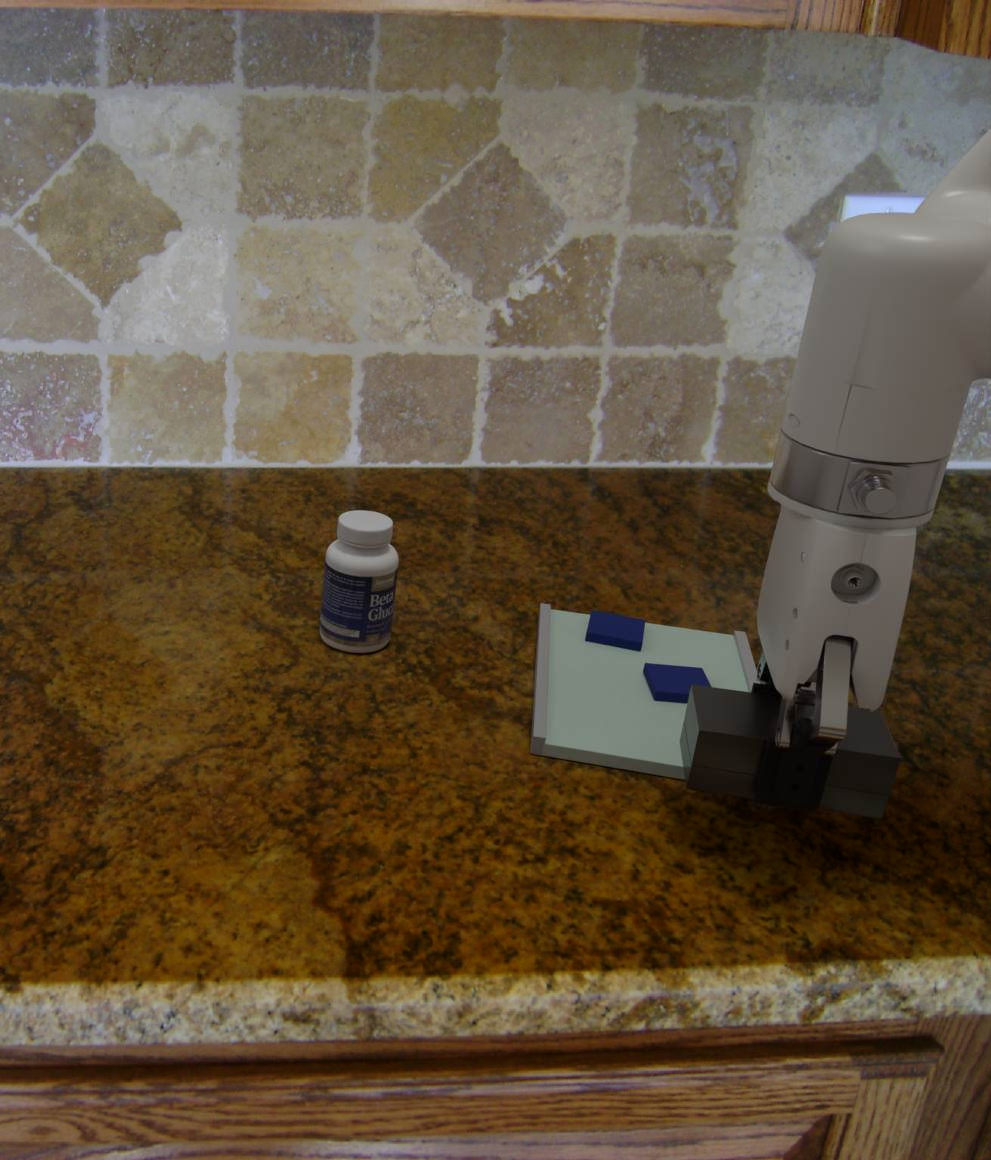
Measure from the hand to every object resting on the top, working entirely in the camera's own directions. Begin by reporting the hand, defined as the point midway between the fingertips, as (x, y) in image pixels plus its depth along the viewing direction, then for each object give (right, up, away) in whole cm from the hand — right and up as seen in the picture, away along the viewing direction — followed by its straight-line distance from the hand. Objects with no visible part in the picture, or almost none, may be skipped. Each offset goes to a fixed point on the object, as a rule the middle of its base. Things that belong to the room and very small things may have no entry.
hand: (777, 772), depth 66 cm
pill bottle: (-21, +6, +23) cm, 32 cm away
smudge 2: (0, +3, +15) cm, 16 cm away
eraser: (0, 0, 0) cm, 0 cm away
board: (-2, +3, +16) cm, 16 cm away
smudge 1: (-2, +7, +22) cm, 23 cm away
